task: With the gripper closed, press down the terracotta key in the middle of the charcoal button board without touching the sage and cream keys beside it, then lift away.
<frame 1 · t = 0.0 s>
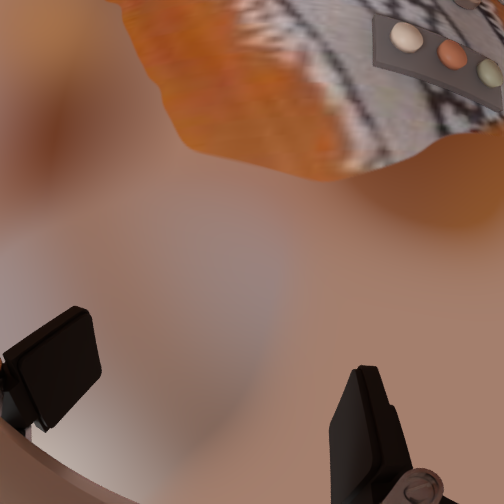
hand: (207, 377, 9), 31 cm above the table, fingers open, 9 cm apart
key sage: (490, 73, 23), point 4 cm above the table, slide at 0.0 cm
key cream: (406, 37, 25), point 4 cm above the table, slide at 0.0 cm
button board: (441, 63, 28), on the table
key terracotta: (452, 55, 24), point 4 cm above the table, slide at 0.0 cm
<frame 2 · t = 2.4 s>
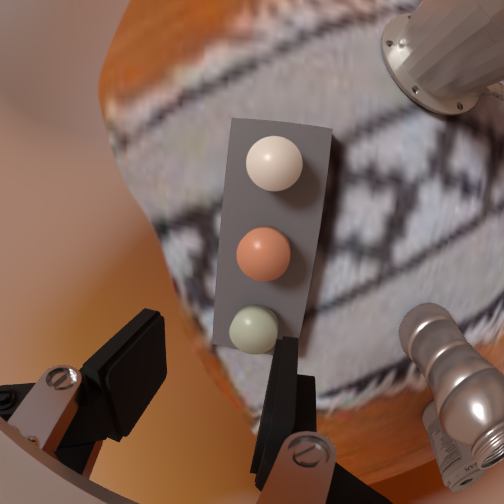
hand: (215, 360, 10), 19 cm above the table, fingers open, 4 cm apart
key sage: (254, 329, 26), point 4 cm above the table, slide at 0.0 cm
energy drink can: (437, 406, 30), on the table
key cream: (275, 164, 22), point 4 cm above the table, slide at 0.0 cm
button board: (269, 242, 28), on the table
plastic bottle: (419, 321, 28), on the table
key terracotta: (264, 253, 24), point 4 cm above the table, slide at 0.0 cm
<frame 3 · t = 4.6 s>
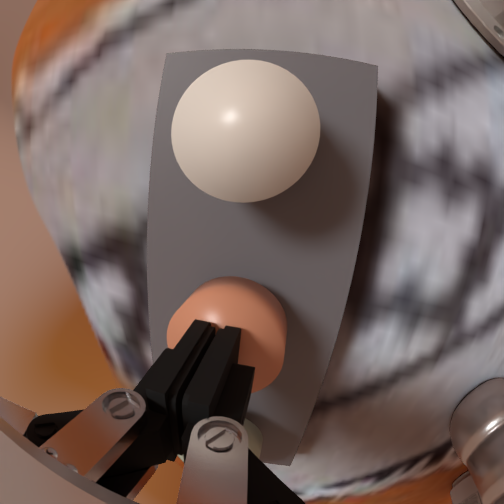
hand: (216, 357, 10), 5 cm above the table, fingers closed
key sage: (220, 447, 13), point 4 cm above the table, slide at 0.0 cm
energy drink can: (469, 474, 17), on the table
key cream: (248, 132, 8), point 4 cm above the table, slide at 0.0 cm
button board: (246, 298, 14), on the table
plastic bottle: (477, 398, 14), on the table
key terracotta: (229, 337, 11), point 4 cm above the table, slide at 0.2 cm, touching gripper
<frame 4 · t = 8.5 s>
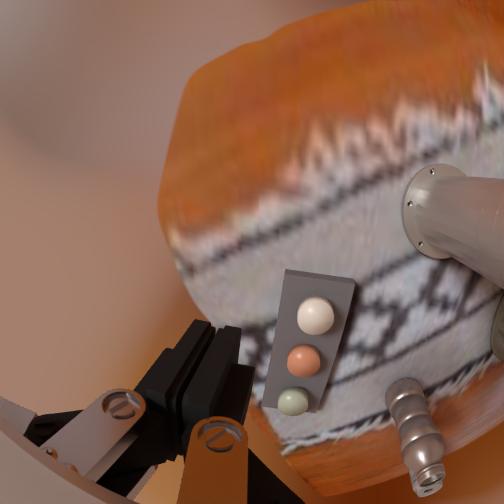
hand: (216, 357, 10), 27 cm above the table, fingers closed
key sage: (293, 401, 38), point 4 cm above the table, slide at 0.0 cm
energy drink can: (414, 435, 42), on the table
key cream: (315, 315, 34), point 4 cm above the table, slide at 0.0 cm
button board: (303, 347, 39), on the table
plastic bottle: (400, 387, 39), on the table
key terracotta: (303, 360, 36), point 3 cm above the table, slide at 0.7 cm
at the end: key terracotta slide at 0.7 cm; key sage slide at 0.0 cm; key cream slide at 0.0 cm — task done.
